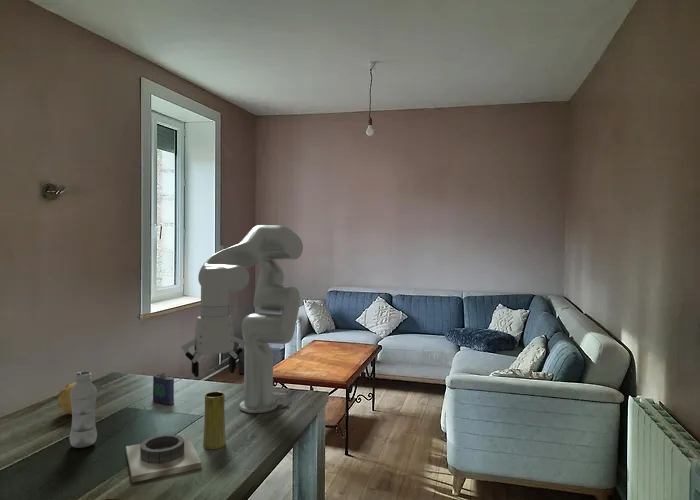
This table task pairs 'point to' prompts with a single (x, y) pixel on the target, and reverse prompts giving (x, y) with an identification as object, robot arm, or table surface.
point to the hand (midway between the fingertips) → (214, 373)
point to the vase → (214, 421)
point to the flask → (163, 389)
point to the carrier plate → (161, 457)
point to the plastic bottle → (83, 411)
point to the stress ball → (66, 399)
